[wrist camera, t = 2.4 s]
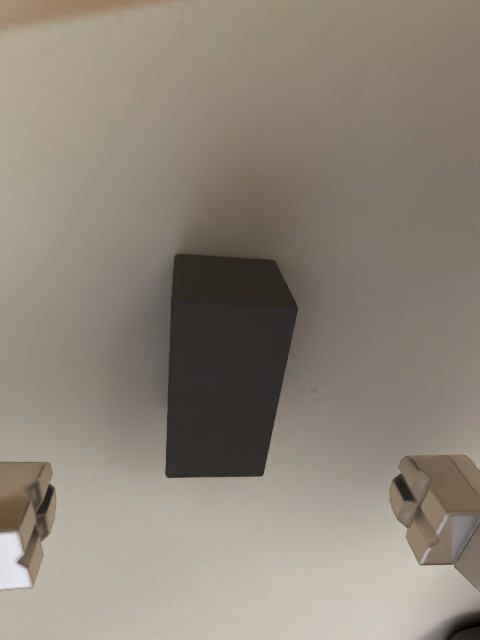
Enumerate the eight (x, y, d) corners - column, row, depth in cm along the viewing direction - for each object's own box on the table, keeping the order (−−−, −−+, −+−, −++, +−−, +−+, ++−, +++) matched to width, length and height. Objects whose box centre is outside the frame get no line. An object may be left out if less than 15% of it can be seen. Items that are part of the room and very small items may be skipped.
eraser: (175, 252, 12) (171, 300, 9) (276, 259, 12) (299, 306, 10) (169, 409, 15) (165, 479, 12) (250, 410, 15) (263, 477, 13)
